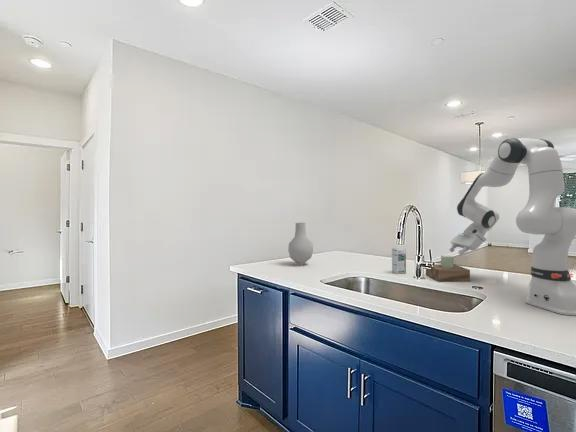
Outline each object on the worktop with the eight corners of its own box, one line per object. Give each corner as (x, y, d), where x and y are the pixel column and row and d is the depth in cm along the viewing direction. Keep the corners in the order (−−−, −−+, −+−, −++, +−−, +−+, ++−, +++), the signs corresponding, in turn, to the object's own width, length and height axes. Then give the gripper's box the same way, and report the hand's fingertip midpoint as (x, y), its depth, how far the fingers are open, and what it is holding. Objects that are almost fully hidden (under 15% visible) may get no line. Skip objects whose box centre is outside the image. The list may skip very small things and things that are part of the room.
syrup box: (397, 274, 190) (397, 249, 189) (391, 272, 195) (391, 247, 195) (406, 273, 191) (406, 248, 190) (399, 271, 197) (400, 247, 196)
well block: (469, 281, 171) (470, 269, 170) (439, 281, 170) (439, 270, 170) (453, 274, 187) (453, 264, 186) (425, 275, 186) (425, 264, 186)
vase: (283, 264, 222) (283, 223, 221) (300, 261, 233) (300, 221, 232) (300, 268, 209) (300, 224, 208) (318, 264, 220) (317, 222, 219)
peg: (453, 279, 176) (453, 256, 176) (444, 279, 176) (445, 256, 176) (448, 277, 181) (449, 255, 180) (440, 277, 181) (441, 255, 180)
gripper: (458, 228, 188) (441, 245, 188) (480, 231, 168) (461, 250, 168) (466, 236, 188) (449, 253, 188) (488, 240, 168) (469, 259, 168)
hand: (455, 252), depth 178 cm, fingers open, 8 cm apart
